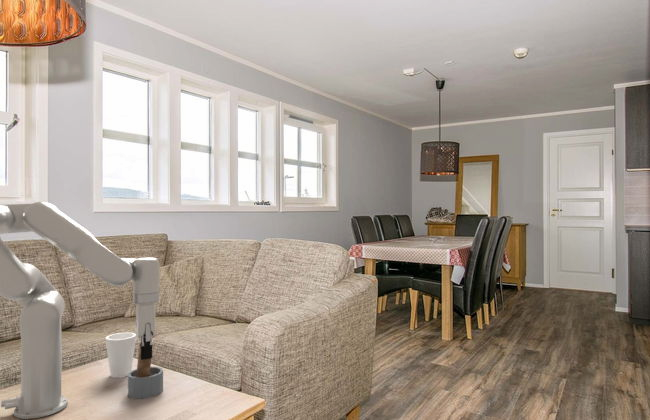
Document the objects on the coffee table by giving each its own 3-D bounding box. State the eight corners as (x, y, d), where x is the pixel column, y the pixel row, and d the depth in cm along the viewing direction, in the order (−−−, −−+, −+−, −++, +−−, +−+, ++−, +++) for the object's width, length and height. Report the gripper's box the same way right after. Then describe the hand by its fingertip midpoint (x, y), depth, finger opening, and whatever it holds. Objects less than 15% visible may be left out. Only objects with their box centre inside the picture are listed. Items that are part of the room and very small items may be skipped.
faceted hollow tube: (129, 401, 126) (129, 380, 126) (127, 389, 135) (127, 369, 135) (164, 394, 131) (164, 374, 131) (160, 383, 139) (160, 364, 139)
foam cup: (141, 372, 149) (141, 335, 149) (116, 381, 141) (116, 341, 141) (125, 367, 154) (125, 331, 154) (99, 375, 146) (99, 337, 146)
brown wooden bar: (135, 392, 130) (140, 345, 131) (134, 389, 132) (139, 343, 133) (148, 390, 132) (152, 344, 133) (147, 388, 134) (151, 342, 135)
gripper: (131, 295, 138) (131, 352, 138) (134, 303, 124) (134, 367, 124) (156, 292, 142) (156, 349, 141) (162, 301, 128) (162, 363, 128)
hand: (146, 357), depth 133 cm, fingers closed on brown wooden bar, 1 cm apart
